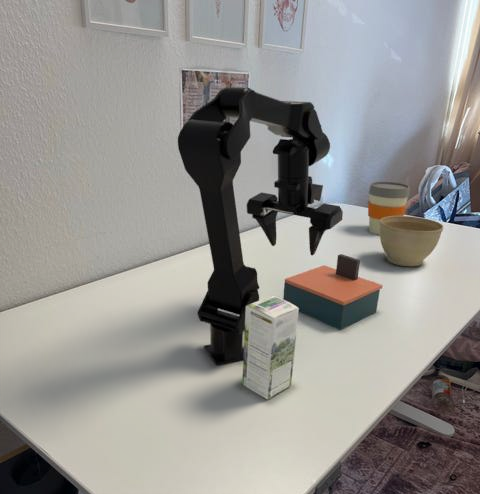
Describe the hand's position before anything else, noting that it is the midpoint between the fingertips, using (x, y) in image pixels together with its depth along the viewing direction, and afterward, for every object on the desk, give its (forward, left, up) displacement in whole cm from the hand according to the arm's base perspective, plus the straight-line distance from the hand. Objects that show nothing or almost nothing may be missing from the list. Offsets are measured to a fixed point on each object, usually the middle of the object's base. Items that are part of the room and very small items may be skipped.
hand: (292, 249), depth 98 cm
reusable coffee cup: (+40, -59, -13) cm, 72 cm away
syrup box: (-25, +18, -13) cm, 34 cm away
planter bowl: (+14, -45, -13) cm, 49 cm away
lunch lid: (-4, -8, -8) cm, 12 cm away
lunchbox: (-4, -8, -13) cm, 16 cm away
